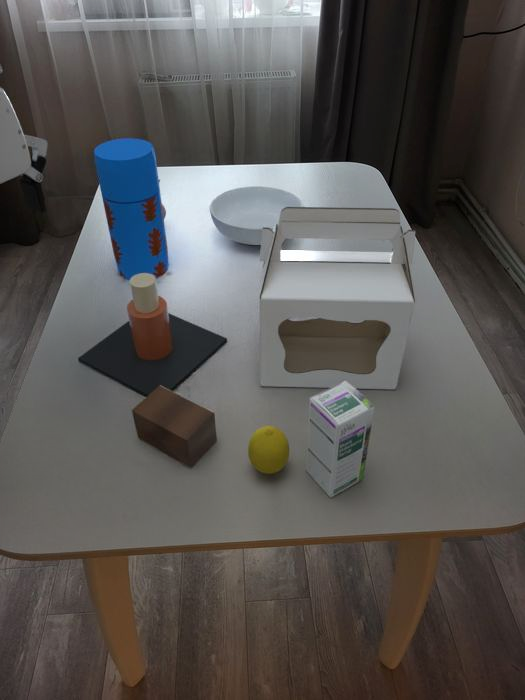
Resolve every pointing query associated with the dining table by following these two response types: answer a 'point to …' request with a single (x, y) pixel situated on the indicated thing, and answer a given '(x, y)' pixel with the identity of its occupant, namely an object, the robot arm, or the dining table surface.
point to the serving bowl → (250, 211)
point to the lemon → (268, 449)
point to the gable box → (335, 300)
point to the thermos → (133, 206)
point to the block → (175, 425)
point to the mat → (147, 375)
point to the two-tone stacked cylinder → (149, 319)
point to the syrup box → (338, 437)
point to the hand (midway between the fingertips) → (7, 224)
